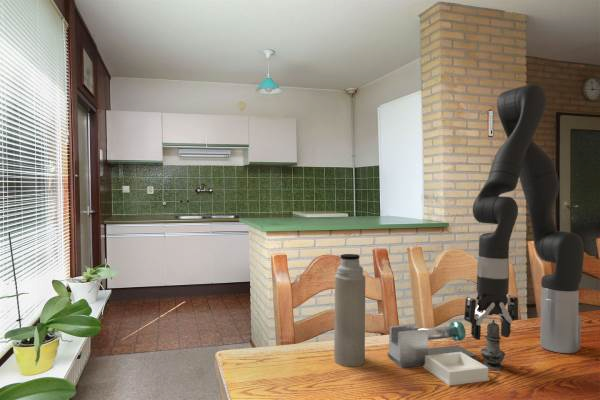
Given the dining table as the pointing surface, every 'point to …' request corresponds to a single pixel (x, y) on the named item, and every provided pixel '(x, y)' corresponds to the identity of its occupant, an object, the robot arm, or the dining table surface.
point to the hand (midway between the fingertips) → (490, 337)
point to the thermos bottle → (349, 312)
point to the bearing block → (415, 346)
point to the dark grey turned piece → (493, 348)
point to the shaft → (447, 332)
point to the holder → (456, 368)
